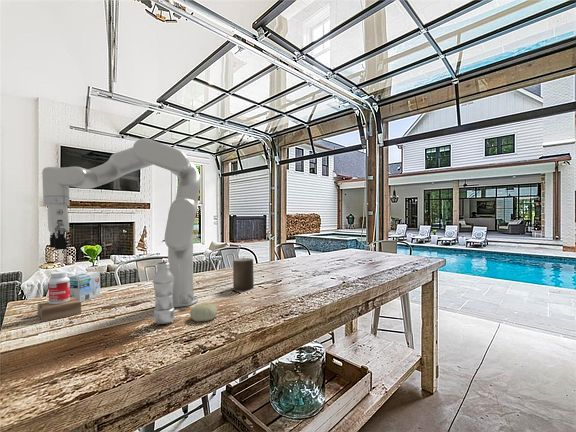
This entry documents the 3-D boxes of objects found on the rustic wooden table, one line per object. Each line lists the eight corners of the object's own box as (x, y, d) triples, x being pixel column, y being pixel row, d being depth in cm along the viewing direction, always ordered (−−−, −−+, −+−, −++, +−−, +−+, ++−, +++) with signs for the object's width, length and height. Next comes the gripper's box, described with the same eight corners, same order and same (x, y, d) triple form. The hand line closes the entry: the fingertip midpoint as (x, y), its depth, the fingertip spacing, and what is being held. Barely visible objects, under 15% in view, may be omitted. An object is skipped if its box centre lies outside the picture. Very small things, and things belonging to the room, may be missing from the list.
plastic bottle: (162, 328, 92) (160, 265, 92) (149, 323, 95) (148, 263, 95) (179, 321, 97) (178, 262, 97) (166, 317, 101) (165, 260, 101)
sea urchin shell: (224, 308, 104) (214, 297, 99) (215, 330, 99) (205, 319, 93) (202, 306, 107) (192, 295, 102) (193, 327, 102) (182, 316, 96)
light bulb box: (79, 302, 119) (79, 276, 119) (66, 302, 121) (65, 276, 120) (101, 295, 130) (100, 271, 130) (88, 294, 131) (88, 271, 131)
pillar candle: (252, 290, 134) (251, 258, 134) (231, 290, 135) (230, 258, 135) (254, 285, 144) (254, 255, 144) (235, 285, 144) (235, 255, 144)
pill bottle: (45, 305, 102) (44, 274, 102) (52, 300, 108) (51, 271, 108) (67, 303, 104) (66, 273, 104) (72, 298, 110) (71, 269, 110)
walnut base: (81, 313, 106) (80, 301, 106) (42, 321, 98) (41, 309, 98) (74, 306, 114) (74, 296, 114) (37, 314, 106) (37, 302, 106)
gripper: (74, 200, 102) (76, 249, 103) (64, 202, 114) (66, 245, 115) (47, 200, 97) (48, 251, 97) (39, 202, 109) (41, 247, 109)
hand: (58, 248), depth 106 cm, fingers open, 9 cm apart
